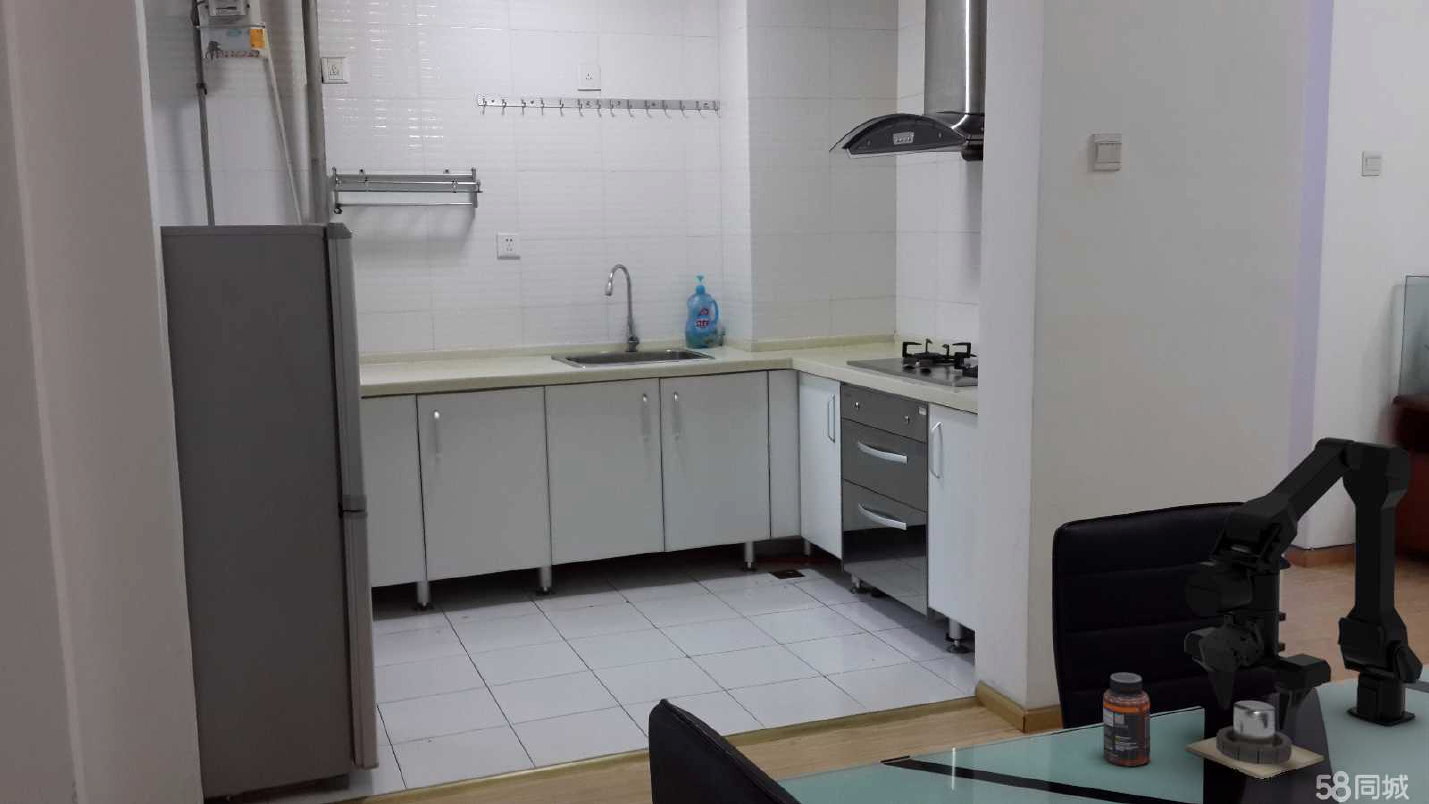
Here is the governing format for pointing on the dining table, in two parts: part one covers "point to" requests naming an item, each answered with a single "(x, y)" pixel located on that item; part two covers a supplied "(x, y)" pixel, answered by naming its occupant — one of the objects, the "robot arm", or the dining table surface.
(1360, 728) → the dining table surface
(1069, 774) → the dining table surface
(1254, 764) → the ring seat
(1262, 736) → the cylinder
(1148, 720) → the supplement bottle
